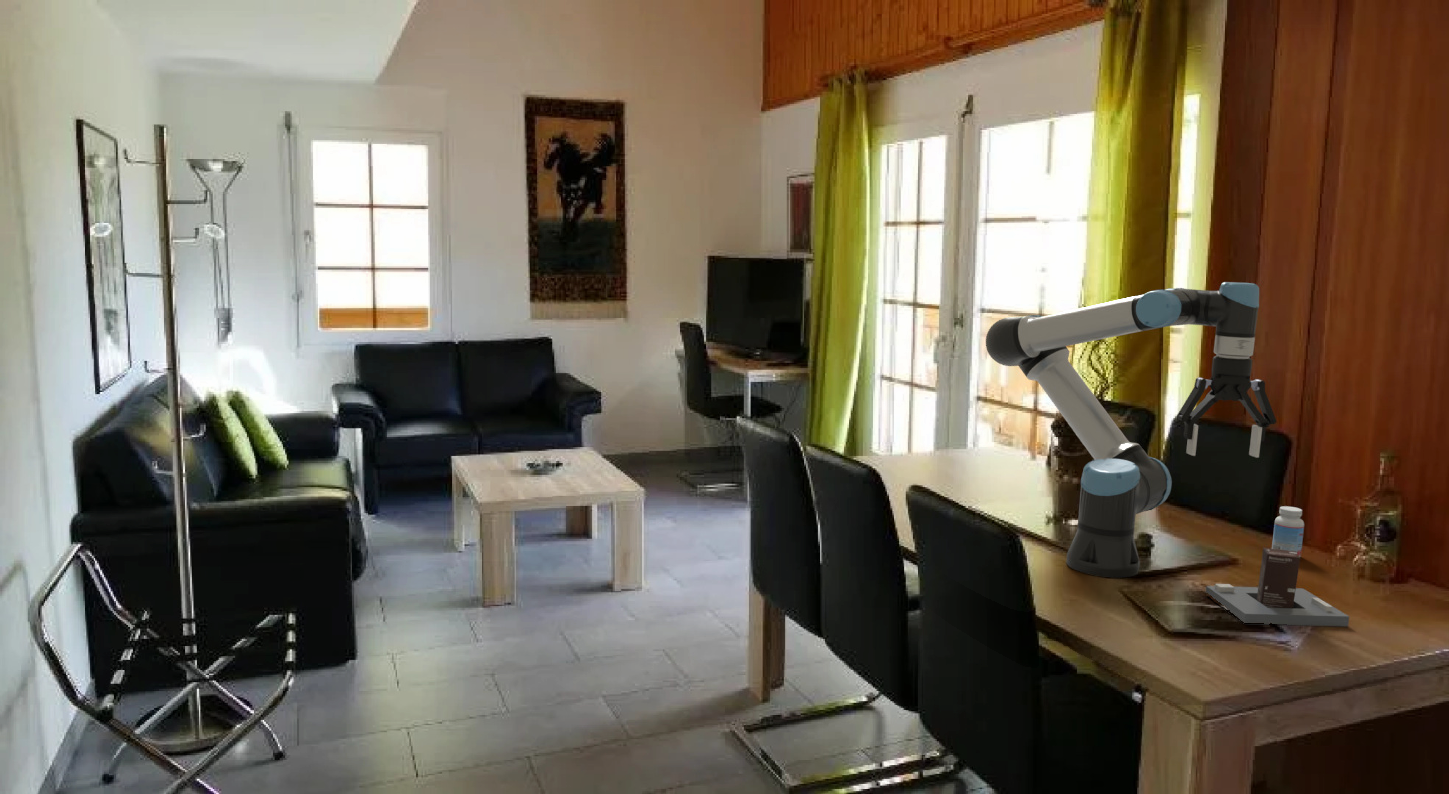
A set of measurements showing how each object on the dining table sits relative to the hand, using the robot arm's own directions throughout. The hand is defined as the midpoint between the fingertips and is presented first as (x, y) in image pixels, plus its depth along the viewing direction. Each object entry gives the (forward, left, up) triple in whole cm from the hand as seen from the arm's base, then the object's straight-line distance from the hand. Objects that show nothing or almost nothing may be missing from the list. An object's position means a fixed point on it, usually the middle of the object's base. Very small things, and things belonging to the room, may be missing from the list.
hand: (1222, 455), depth 226 cm
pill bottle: (+26, +17, -27) cm, 41 cm away
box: (+3, -21, -27) cm, 34 cm away
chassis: (+3, -21, -27) cm, 34 cm away
